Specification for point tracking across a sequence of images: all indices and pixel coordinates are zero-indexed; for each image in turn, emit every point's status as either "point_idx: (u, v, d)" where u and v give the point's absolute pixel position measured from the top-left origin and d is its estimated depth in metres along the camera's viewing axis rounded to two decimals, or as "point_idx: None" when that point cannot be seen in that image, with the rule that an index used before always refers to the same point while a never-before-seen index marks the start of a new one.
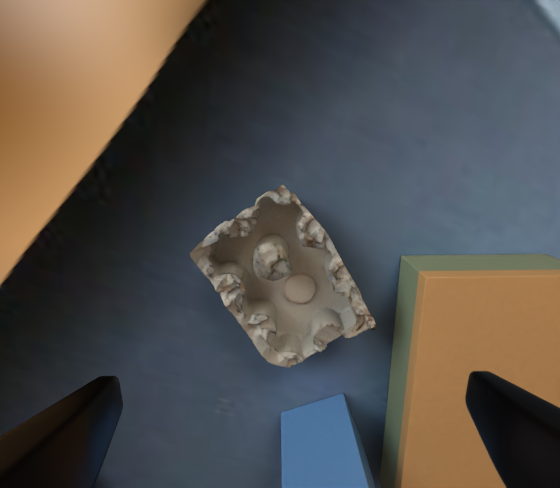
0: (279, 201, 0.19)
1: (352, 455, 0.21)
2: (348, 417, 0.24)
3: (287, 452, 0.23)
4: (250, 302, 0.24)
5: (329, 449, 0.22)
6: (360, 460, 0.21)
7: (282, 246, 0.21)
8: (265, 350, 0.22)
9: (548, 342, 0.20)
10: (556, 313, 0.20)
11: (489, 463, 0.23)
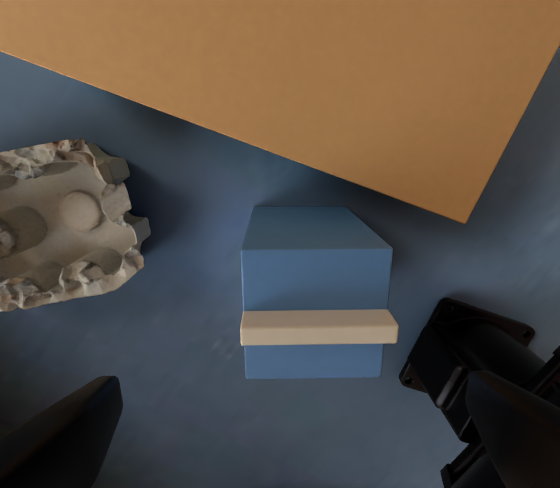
0: None
1: None
2: None
3: None
4: None
5: None
6: (246, 234, 0.14)
7: None
8: (101, 287, 0.17)
9: None
10: None
11: (375, 21, 0.13)
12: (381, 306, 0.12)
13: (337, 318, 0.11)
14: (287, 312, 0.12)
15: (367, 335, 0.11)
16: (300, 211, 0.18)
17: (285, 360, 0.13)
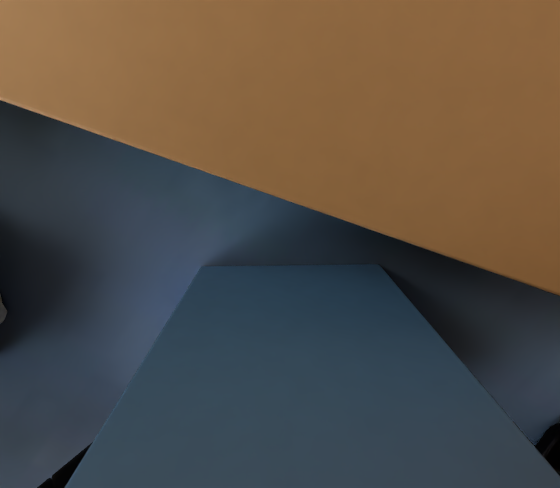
0: None
1: None
2: None
3: None
4: None
5: None
6: (103, 430, 0.04)
7: None
8: None
9: None
10: None
11: None
12: None
13: None
14: None
15: None
16: (289, 285, 0.08)
17: None
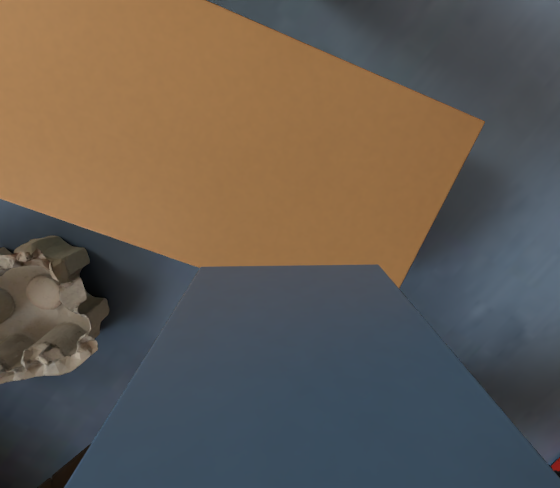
0: None
1: None
2: None
3: None
4: None
5: None
6: (102, 430, 0.04)
7: None
8: (58, 368, 0.19)
9: (84, 31, 0.13)
10: (36, 8, 0.13)
11: (288, 167, 0.15)
12: None
13: None
14: None
15: None
16: (289, 285, 0.08)
17: None
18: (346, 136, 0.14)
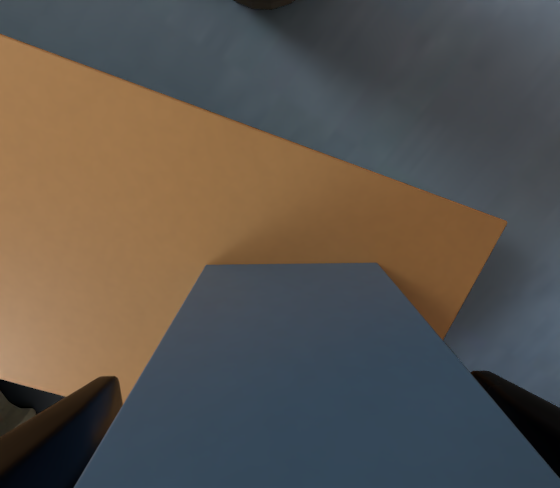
0: None
1: None
2: None
3: None
4: None
5: None
6: (121, 413, 0.05)
7: None
8: None
9: None
10: None
11: None
12: None
13: None
14: None
15: None
16: (291, 282, 0.09)
17: None
18: (312, 246, 0.10)
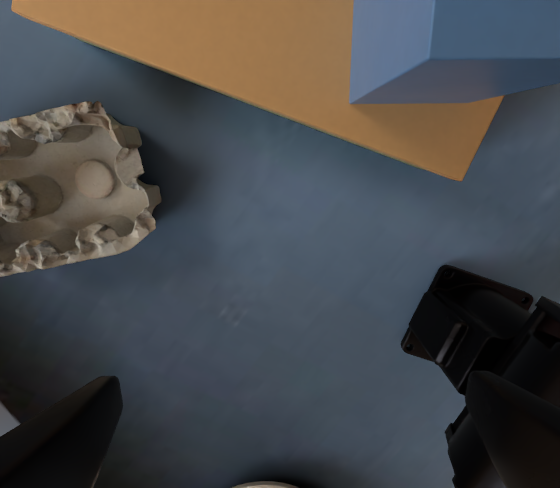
0: None
1: None
2: None
3: (373, 75, 0.11)
4: None
5: None
6: None
7: (1, 182, 0.18)
8: (115, 247, 0.18)
9: None
10: None
11: None
12: None
13: None
14: None
15: None
16: None
17: (507, 13, 0.07)
18: None
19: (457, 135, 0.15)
